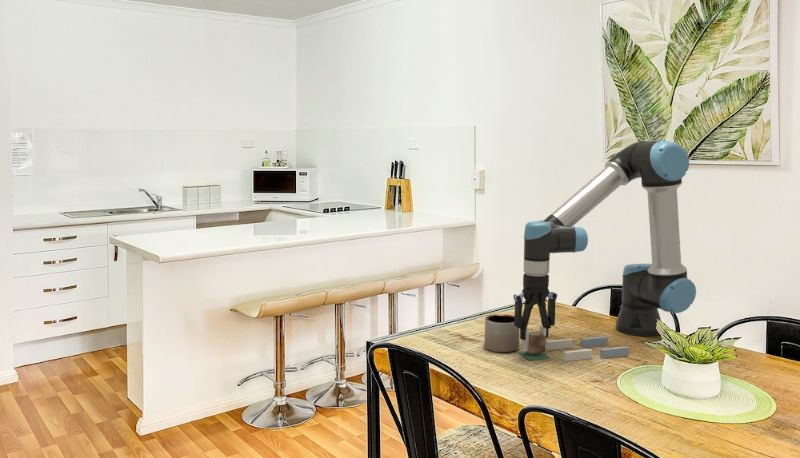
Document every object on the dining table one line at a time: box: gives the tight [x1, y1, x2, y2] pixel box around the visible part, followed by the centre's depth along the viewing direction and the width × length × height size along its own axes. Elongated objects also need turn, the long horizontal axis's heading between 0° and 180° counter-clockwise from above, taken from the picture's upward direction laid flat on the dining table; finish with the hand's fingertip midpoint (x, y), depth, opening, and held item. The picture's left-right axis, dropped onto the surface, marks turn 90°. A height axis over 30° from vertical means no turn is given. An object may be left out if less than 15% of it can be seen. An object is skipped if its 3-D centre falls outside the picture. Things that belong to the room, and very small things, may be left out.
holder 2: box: [580, 336, 630, 360], centre depth 203 cm, size 9×12×3 cm
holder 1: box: [545, 338, 593, 362], centre depth 200 cm, size 9×12×3 cm
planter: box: [483, 313, 520, 354], centre depth 206 cm, size 11×11×10 cm
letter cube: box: [527, 331, 547, 354], centre depth 198 cm, size 5×5×5 cm
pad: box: [517, 350, 551, 362], centre depth 199 cm, size 7×7×1 cm
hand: (533, 348), depth 198 cm, fingers closed on letter cube, 5 cm apart
